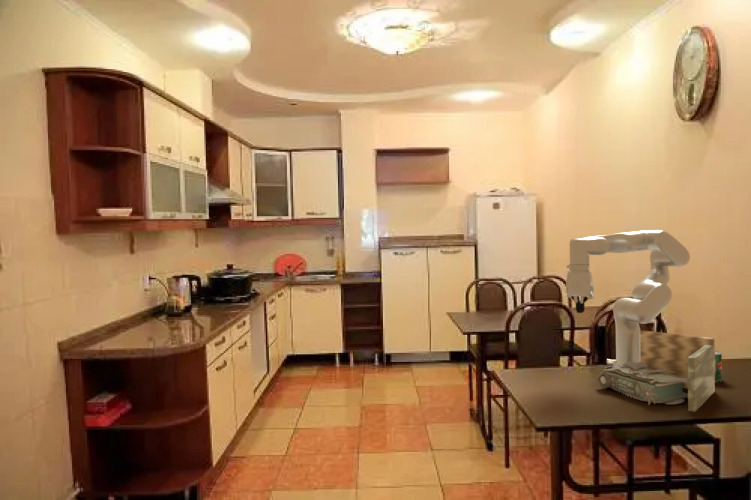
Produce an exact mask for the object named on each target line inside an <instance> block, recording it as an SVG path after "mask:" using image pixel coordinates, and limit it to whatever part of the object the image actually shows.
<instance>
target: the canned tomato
mask: <svg viewBox="0 0 751 500" xmlns="http://www.w3.org/2000/svg"><path fill="white" fill-rule="evenodd" d="M722 354H723V353H722V352H721V351H718V350H715V383H718V381H720V382H722V380H723V379H722V377H723V376H722V375H723V373H722V371H723V370H722V367H723V366H722V362H723V360H722Z"/></svg>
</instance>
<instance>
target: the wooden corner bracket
mask: <svg viewBox="0 0 751 500" xmlns="http://www.w3.org/2000/svg"><path fill="white" fill-rule="evenodd" d="M715 348H716V347H715V338H714V337H707V336H697V335H688V334H677V333H667V332H660V331H650V330H640V357H641V362H642V363H644V364H646V365H648V366H649V367H647V368H649V369H653V370H658V369H659V368H660V370H663V369H667V371H665V372H661V373H665V374H672V375H675V376H679V377H683V378H687V379H688V383H686V382H685V383H682V389H683V388H684V389H687V394H688V398H687V402H688V403H687V407H688V408H687V410H688V411H689V412H693V413H696V412H697V411H698V409H700V407H702V406H703V404H705V403H706V402H707V400H708V399H709V398H710V397H711V396H712V395H713V394H714V393H715V392H716V391H715V388H716V386H715V384H716V382H715V351H716V350H715Z"/></svg>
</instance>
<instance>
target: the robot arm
mask: <svg viewBox="0 0 751 500" xmlns="http://www.w3.org/2000/svg"><path fill="white" fill-rule="evenodd" d="M643 251H650V255H649V259H650V260H649V261H650V269H649V271H648V272H647V274H645V276H644V277H643V278H642V279H641V280H640V281H639V282H637V284H635V286H634V288H633V289H632V291H631V297H621V298H618V299H616V301H614V304H613V307H612V312H613V317H614V321H615V324H614V325H615V359H610V358H606V364H607V365H609V366H618V365H620V366H621V367H623V366H622V364H625V363H627V362H629V361H631V362H641V357H640V331H641V328H640V324H642V325H643V324H649V323H651V322H652V321H654V320H655V318H656V317H658V316H659V314H660V313H662V311H664V310H665V308H667V306H669V304H670V302H671V300H672V297H673V294H672V290H671V288H670V286H669V285H668V284H669V282H670V270H669V267H673V268H674V267H677V268H681V267H684V266H686V265H687V264H688V263H689V261H690V258H691V256H690V252H689V250H688V249H687V248H686V246H684V245H683V244H682V243H681V242H680V241H679V240H678V239H677V238H675V237H674V236H673V234H671V233H670V232H667V231H666V230H663V229H660V230H659V229H656V230H655V229H652V230H651V229H649V230H647V229H646V230H637V231H628V232H618V233H612V234H604V235H594V236H586V237H585V236H584V237H582V238H580V237H579V238H572V239H570V240H569V264H567V265H566V269H569V271H567V273H566V274H567V275H566V282H565V294H566V297H567V298H569V299H572V300H573V302H574V303H575V310H576V313H577V314H578V313H579V314H582V313H584V312H585V307H586V306H585V303H586V302H587V301H588V300H593V299H594V280H593V274H592V271H590V256H597V257H599V256H604V255H606V254H608V253H609V254H610V253H613V254H626V253H634V252H643ZM612 368H615V367H612Z"/></svg>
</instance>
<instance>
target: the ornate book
mask: <svg viewBox="0 0 751 500" xmlns="http://www.w3.org/2000/svg"><path fill="white" fill-rule="evenodd" d="M622 366H623V367H621V366H620V365H618V366H613V365H609V366H608V365H607V366H604V369H603V371H601V372H600V373H599V374H598V376H597V377H596V379H597V381H598V382H599V384H600V386H601V387H602V388H603V390H606V389H608V388H610V389H612V390H613V391H615V392H617V391H618V392H617V393H620V392H621V393H620V394H622V393H623V394H622V395H624V394H625V395H624V396H626V395H627V396H626V397H629V396H630V397H629V398H632V397H633V398H632V399H635V400H639V401H643V402H648V403H647V406H650V405H651V404H652V403H653V404H654V406H655V405H656V404H665V405H679V404H683V403H685V398H686V399H688V392H683V388H682V383H685V382H686V383H688V379H687V378H683V377H679V376H675V375H672V374H665V373H661V372H665V371H667V369H663V370H660V368H659V369H658V370H653V369H649V368H647V367H649V366H648V365H646V364H644V363H642V362H631V361H629V362H627V363H625V364H622ZM608 367H615V368H608Z"/></svg>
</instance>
